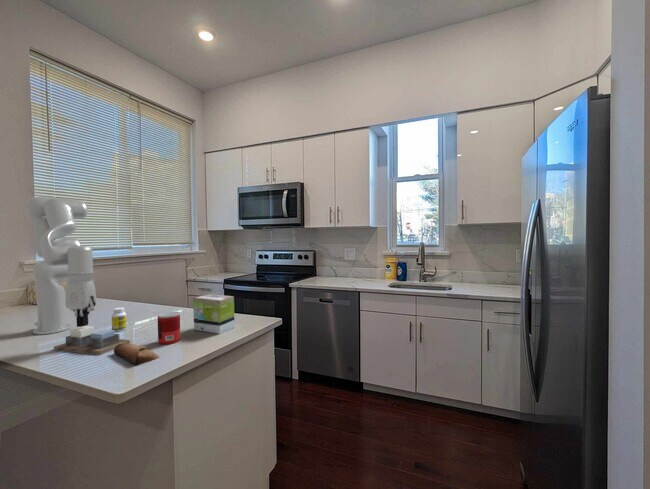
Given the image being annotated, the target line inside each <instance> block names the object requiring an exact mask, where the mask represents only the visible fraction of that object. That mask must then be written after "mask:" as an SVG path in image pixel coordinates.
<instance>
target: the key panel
mask: <svg viewBox="0 0 650 489" xmlns="http://www.w3.org/2000/svg"><path fill="white" fill-rule="evenodd" d="M118 344H131V340H130V339H124V338H123V339H122V338H120V333H115V335H113V336H110V337H108V338H105V339H102V340H101V339H91V335H88V336H84V337H81V338H79V337H70V335H69V336H65V342H64V343H60V344H58V345H55V346H53V350H54V351H62V352H72V353H81V354H88V355H89V354H90V355H98V356H99V355H101V356H102V355H103V354H106V353H108V352H111V351H114V349H115V347H116V346H117V345H118Z"/></svg>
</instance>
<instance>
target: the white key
mask: <svg viewBox="0 0 650 489" xmlns="http://www.w3.org/2000/svg"><path fill="white" fill-rule="evenodd" d="M69 332H70V334H69V336H70V337H79V338H81V337H84V336H88V335H91V333H94V332H96V331H95V326H92V325H91V326H90V325H86V326H83V327H76V328H72V329H71V328H70V330H69Z"/></svg>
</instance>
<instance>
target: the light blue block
mask: <svg viewBox="0 0 650 489" xmlns="http://www.w3.org/2000/svg"><path fill="white" fill-rule="evenodd" d="M115 334H116V332H115V330H112V329H102V330H98V331H95V332H94V333H91V339H101V340H102V339H105V338H108V337H110V336H113V335H115Z"/></svg>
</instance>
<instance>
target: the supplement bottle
mask: <svg viewBox="0 0 650 489" xmlns="http://www.w3.org/2000/svg"><path fill="white" fill-rule="evenodd" d="M111 330H115V333H117V332H122V331H125V330H127V313H126V312H125V307H116V308H113V313H112V315H111Z"/></svg>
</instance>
